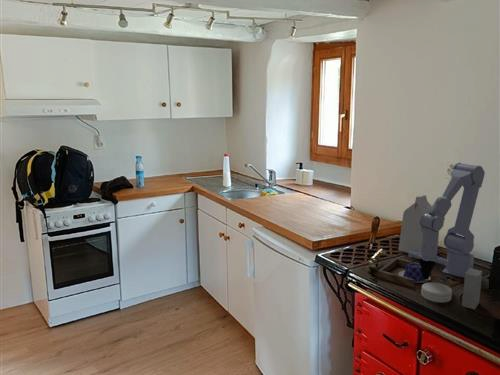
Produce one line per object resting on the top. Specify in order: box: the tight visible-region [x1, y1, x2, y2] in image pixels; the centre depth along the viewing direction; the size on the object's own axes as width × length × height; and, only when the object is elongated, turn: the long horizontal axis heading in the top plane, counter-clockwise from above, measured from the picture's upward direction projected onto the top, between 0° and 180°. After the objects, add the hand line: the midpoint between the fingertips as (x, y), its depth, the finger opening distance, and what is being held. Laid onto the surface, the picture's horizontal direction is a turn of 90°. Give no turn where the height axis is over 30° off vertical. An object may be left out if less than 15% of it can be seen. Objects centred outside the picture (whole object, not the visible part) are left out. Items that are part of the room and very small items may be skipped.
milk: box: [397, 194, 432, 254], centre depth 196 cm, size 12×12×26 cm
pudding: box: [397, 262, 431, 284], centre depth 169 cm, size 12×12×5 cm
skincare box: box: [461, 268, 483, 310], centre depth 146 cm, size 6×4×12 cm
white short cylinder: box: [420, 281, 453, 304], centre depth 153 cm, size 10×10×4 cm
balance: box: [366, 248, 387, 271], centre depth 180 cm, size 13×4×7 cm, turn 139°
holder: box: [377, 257, 419, 288], centre depth 172 cm, size 14×18×3 cm
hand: (426, 278), depth 166 cm, fingers closed
